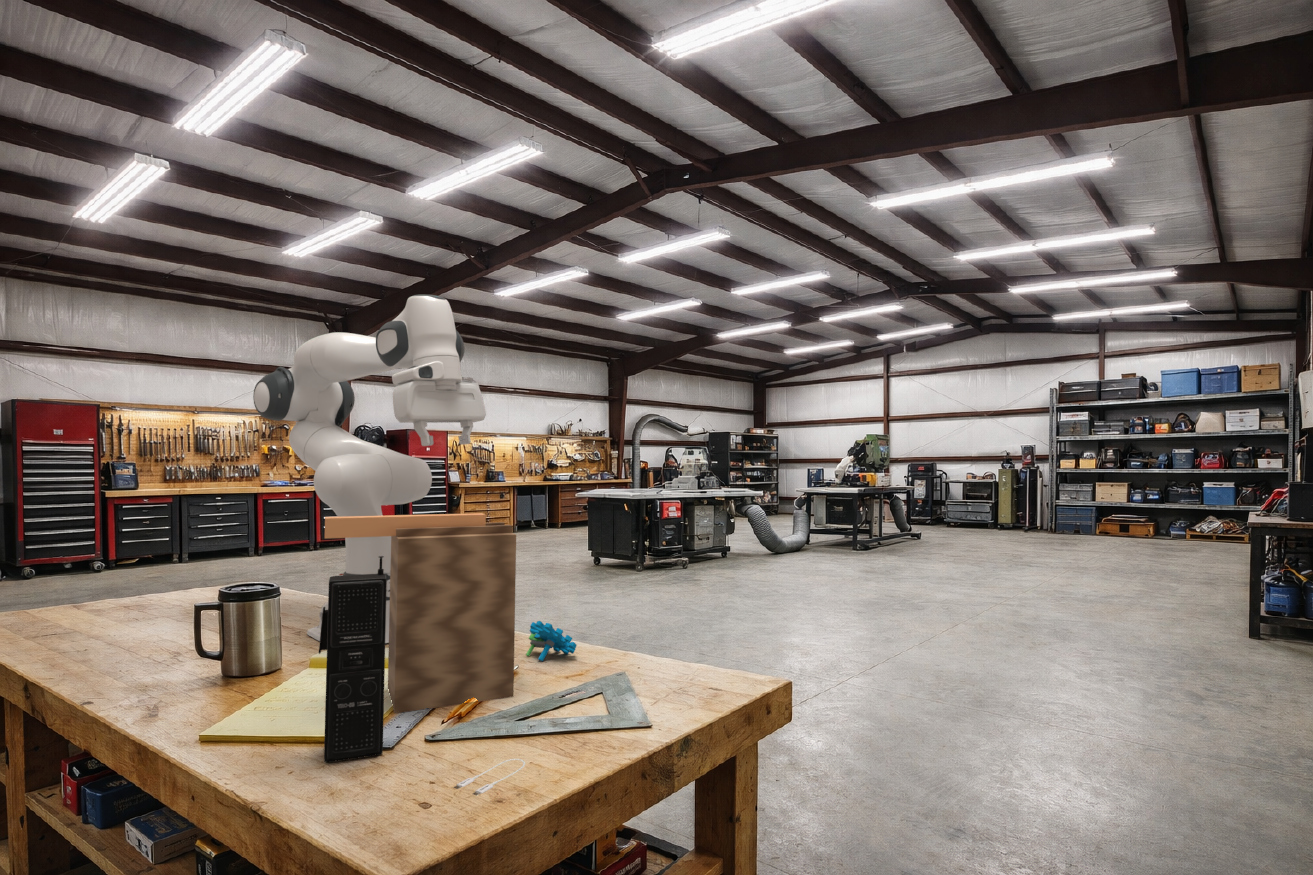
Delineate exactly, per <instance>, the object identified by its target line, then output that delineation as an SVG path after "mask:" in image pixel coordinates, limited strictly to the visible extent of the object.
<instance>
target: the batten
mask: <svg viewBox="0 0 1313 875" xmlns="http://www.w3.org/2000/svg"><path fill="white" fill-rule="evenodd" d="M486 517H487V515H486V514H485V513H482V512H478V513H445V514H444V513H439V514H437V513H436V514H435V513H434V514H432V513H431V514H396V515H395V514H393V515H389V514H388V515H383V516H345V517H338V516H325V517H324V539H345V538H352V537H381V536H396V529H400V528H432V527H464V526H486V523H487V522H486V521H487V520H486Z"/></svg>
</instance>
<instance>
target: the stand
mask: <svg viewBox="0 0 1313 875" xmlns="http://www.w3.org/2000/svg"><path fill="white" fill-rule="evenodd" d="M516 560H517V534H516V533H513V525H511V524H505V522H501V521H500V522H486V526H464V527H432V528H400V529H396V536H391V570H390V612H389V643H388V654H387V656H388V659H387V660H388V663H387V665H388V666H387V667H388V668H387V690H388V689H389V692H388V694H389V693H390V696H391V699H390V701H391V700H392V703H391V705H392V704H393V707H392V710H393V713H394V714H399V713H407V712H414V711H420V710H421V709H422V710H426V709H425V708H429V709H435V708H442V707H449V706H456V705H462V703H464V702H465V701H467V700H468V699H471V698H473V697H474V698H476V699H477V700H478V702H477V703H479V702H485V701H491V700H493V701H494V700H500V699H506V698H514V691H515V688H514V685H515V683H514V681H515V637H516V636H515V634H516V632H515V631H516V630H515V629H516V627H515V625H516V624H515V622H516V618H515V617H516V576H517V575H516V574H517V572H516V571H517V569H516V568H517V565H516V564H517V562H516ZM390 696H389V697H390ZM422 710H421V711H422Z"/></svg>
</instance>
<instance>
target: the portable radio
mask: <svg viewBox="0 0 1313 875" xmlns="http://www.w3.org/2000/svg"><path fill="white" fill-rule="evenodd" d="M383 557H384V556H379V558H380V567H379V569H378V574H362V575H333V576H330V577H329V579H328V595H327V596H328V599H327V602H328V610H325V607H323V614H322V624H321V634H320V641H319V643H318V644H319V646H318V654H321V653H322V651H326V667H325V668H326V670H325V672H326V673H325V674H326V676H325V708H324V709H325V710H324V711H325V712H324V714H325V716H324V739H323V740H324V743H323V744H324V745H323V759H324V762H325V763H327V764H328V763H335V762H341V761H348V760H354V759H360V758H368V757H373V756H380V755H382V754H383V750H384V720H385V719H384V718H385V717H384V712H385V708H384V707H385V673H386V672H385V668H386V665H385V664H386V660H385V659H386V643H385V632H386V590H387V579H386V574H384V569H382V558H383Z"/></svg>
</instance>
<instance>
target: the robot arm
mask: <svg viewBox="0 0 1313 875" xmlns="http://www.w3.org/2000/svg"><path fill="white" fill-rule="evenodd" d="M465 350H466V349H465V343H464V340H463V337H462V336H461V335H460V333H459V331H458V330H457V329H456V325H455V318H454V313H453V310H452V308H451V305H450V302H449V301H448V300H447V299H446V298H445V297H443V296H439V295H434V294H421V293H420V294H414V295H412V296H409V297H408V298H407V300H406V303H405V307H404V308H403V310H402V311H401V312H400V313H399V315H398V316H396V317H395V318H394V319H392V320H391V321H390V320H389V321H387V322H386V323H384V324H383V325H382V326H381V327H380V328H379V330H378V331H377V333H376V336H369V335H363V334H359V333H350V332H342V331H341V332H340V331H339V332H338V331H337V332H336V331H335V332H328V333H325V334H321V335H318V336H315V337H313V338H310V339H309V340H307V341H306V342H303V344H300V346H299V347H298V348H297V349H296V351H295V353H294V358H293V364H292V366H291V367H290V368H285V367H284V366H278V367H277V368H275V370H274V371H273V372H270V373H268V374H265V375H264V376H263V377H262V378H260V380H258V382H256V384H255V386H254V390H253V394H252V395H253V397H252V398H253V405H254V407H255V410H256V411H257V413H258V414H259V415H260V417H262V418H265V419H267V420H272V421H277V422H280V421H287V422H288V421H290V422H295V425H293V427H292V428H291V430H290V432H289V435H288V441H289V445H290V447H291V449H292V450H293V452H294V454H296V456H297V457H298V458H299V459H300V460H301V461H302V462H303V463H304V464H305V465H306V466H308V467H309V468H311V469H312V470H313V471H315V472H314V476H313V488H314V491H315V493H316V495H317V497H318V499H320V500H321V502H322V503H324V504H325V505H327V506H328V507H329V508H330V509H331V510H332V511H333V512H334V513H335V515H336V517H345V516H384V515H383V511H382V506H393V505H405V504H409V503H412V502H415V501H416V502H417V501H419V500H422V499H423V498H425V497H426V496H427V495H428V493H429V491H430V489H431V487H432V483H433V477H432V476H433V474H432V471H431V468H430V466H429V465H428V463H427V462H426V461H425V460H424V459H422V458H419V457H416V456H410V455H407V454H404V453H401V452H398V451H395V450H392V449H390V448H387V447H384V446H381V445H378V444H376V443H372V442H369V441H366V440H363V439H361V438H359V437H357V436H355V435H353V434H352V433H350V432H348V431H347V430H345V429H343V428H342V427H341V426H342V425H343V424H344V422H345V421H346V419H347V418H349V416H350V414H351V412H352V410H353V409H354V406H355V401H356V400H355V397H356V396H355V392H354V390H353V387H352V386H351V384H350V383H349V381H351V380H355V379H360V378H364V377H367V376H371V375H376V374H381V373H384V372H388V371H393V370H401V369H404V370H401V371H398V372H396V373H394V374H392V376H391V380H392V383H393V385H394V386H395V387H394V388H393V390H392V404H393V406H392V407H393V414H394V417H395V419H396V420H397V421H398V422H399V423H401V424H402V423H404V424H405V423H406V424H407V423H410V424H411V423H413V429H414V430H415V433H417V435H418V436H419V438H420V443H421V446H422V447H429V446H433V445H434V436H433V435H430V433H429V432H428V430H427V428H426V427H428V423H429V424H431V423H435V424H438V423H440V424H441V423H445V424H446V423H449V424H450V423H460V428H461V429H462V431H461V435H458V443H459V445H469V444H471V442H472V441H471V433H472V430H473V428H474V423H477V422H480V421H484V420H485V418H486V416H487V411H486V407H485V402H484V398H483V394H482V392H481V389H480V384H479V383H478V382H477V381H476V380H474V378H473V377H469V376H468V377H464V376H462V375H463V374H462V369H461V362H462V360H463V358H464V355H465ZM344 539H345V571H344V572H343V573H339V574H338V576H343V575H362V574H378V569H379V567H380V558H379V556H384V557H383V558H382V569H384V574H386V579H387V590H386V632H385V644H389V612H390V570H391V536H381V537H352V538H344ZM323 607H325V610H328V601H326V602H325V603H324V604H323V605H322V606H321V609H320V612H319V614H318V615H319V617H318V618H319V625H317V626H314V627H311V628H308V629H307V631H306V635H307V636H309V637H312V638H313V639H314V640H316V641H319V642H320V634H321V624H322V614H323Z"/></svg>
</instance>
